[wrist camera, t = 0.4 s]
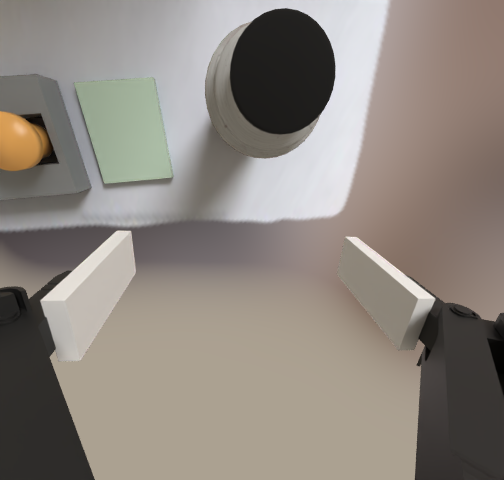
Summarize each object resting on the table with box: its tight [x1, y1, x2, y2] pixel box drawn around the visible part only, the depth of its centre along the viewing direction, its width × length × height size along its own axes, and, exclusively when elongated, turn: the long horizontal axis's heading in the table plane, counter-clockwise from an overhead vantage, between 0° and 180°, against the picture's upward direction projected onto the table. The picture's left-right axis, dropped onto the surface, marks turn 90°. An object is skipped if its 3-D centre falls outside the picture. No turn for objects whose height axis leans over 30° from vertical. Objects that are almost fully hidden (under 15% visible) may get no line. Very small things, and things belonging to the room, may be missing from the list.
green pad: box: [74, 77, 174, 184], centre depth 36 cm, size 13×10×1 cm
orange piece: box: [0, 111, 53, 171], centre depth 31 cm, size 6×6×5 cm
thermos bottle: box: [205, 8, 335, 158], centre depth 24 cm, size 8×8×28 cm
